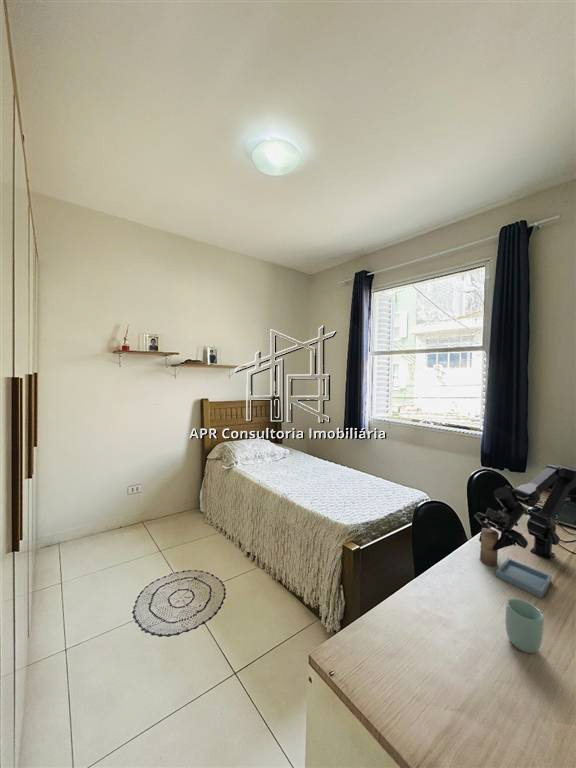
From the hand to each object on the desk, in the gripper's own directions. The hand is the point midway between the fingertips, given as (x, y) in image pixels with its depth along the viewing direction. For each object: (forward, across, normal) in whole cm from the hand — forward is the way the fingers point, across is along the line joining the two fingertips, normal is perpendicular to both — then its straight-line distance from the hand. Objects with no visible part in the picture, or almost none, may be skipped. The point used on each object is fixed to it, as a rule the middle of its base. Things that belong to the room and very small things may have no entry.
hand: (486, 545), depth 118 cm
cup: (+21, +32, -11) cm, 40 cm away
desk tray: (+1, +11, +8) cm, 14 cm away
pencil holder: (+4, 0, +6) cm, 7 cm away
